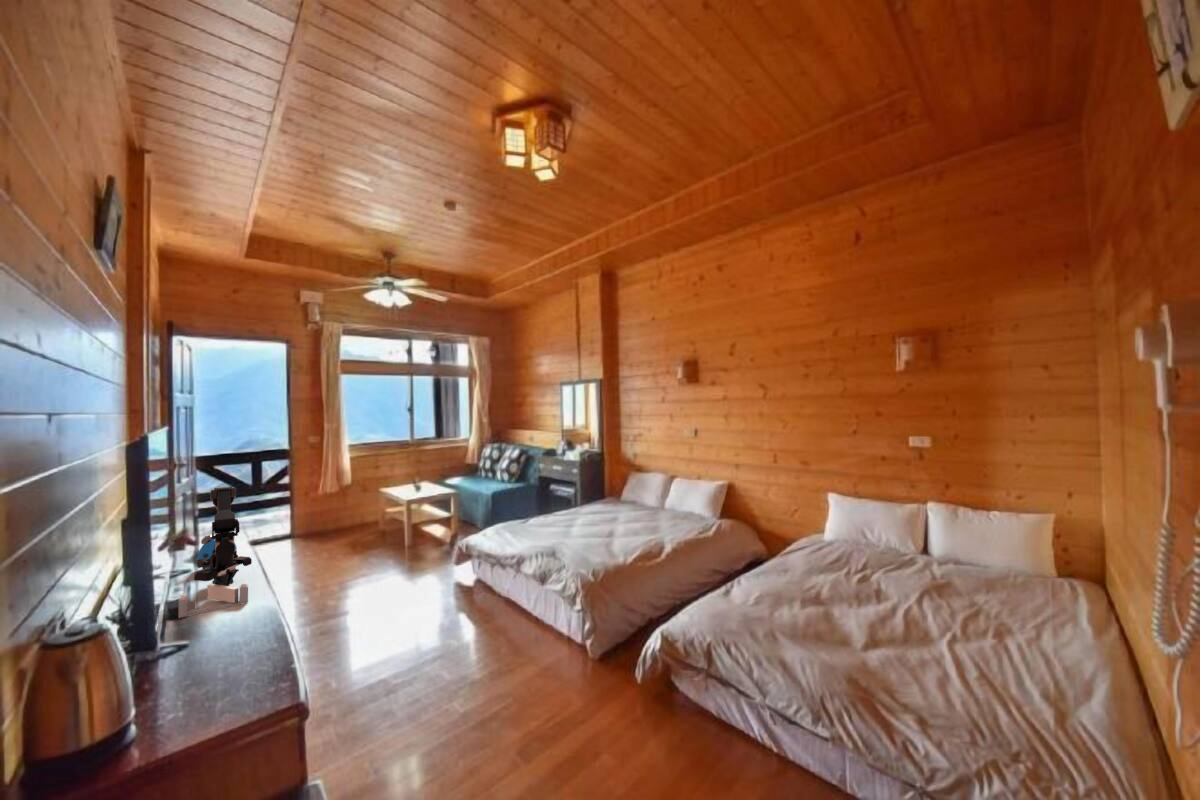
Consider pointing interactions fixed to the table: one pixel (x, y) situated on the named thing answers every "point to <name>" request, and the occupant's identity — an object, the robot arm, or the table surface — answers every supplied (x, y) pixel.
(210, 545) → the alarm clock
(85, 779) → the table surface
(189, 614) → the gate frame
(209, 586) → the gate
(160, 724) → the table surface
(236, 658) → the table surface
